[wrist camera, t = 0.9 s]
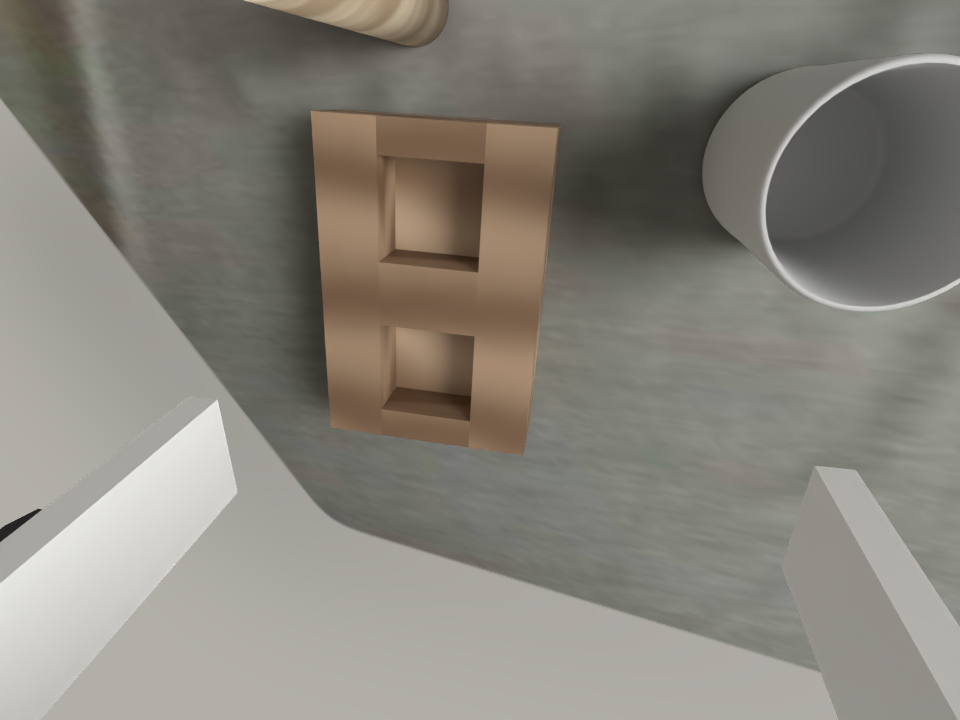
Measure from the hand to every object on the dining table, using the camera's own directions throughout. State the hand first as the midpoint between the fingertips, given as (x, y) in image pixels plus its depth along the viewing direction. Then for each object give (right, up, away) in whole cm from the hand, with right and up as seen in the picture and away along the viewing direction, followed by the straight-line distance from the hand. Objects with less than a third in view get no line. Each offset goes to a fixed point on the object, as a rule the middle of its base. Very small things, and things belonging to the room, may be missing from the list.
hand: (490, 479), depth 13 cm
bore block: (-2, +8, +22) cm, 23 cm away
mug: (+17, +13, +16) cm, 27 cm away
